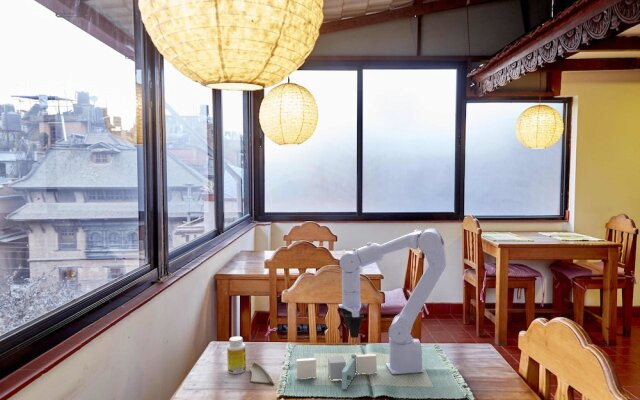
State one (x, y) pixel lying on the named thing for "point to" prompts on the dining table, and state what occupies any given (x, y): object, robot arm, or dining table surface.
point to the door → (348, 373)
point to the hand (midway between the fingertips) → (352, 333)
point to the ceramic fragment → (260, 374)
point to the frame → (362, 362)
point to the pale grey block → (336, 367)
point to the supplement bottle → (236, 355)
